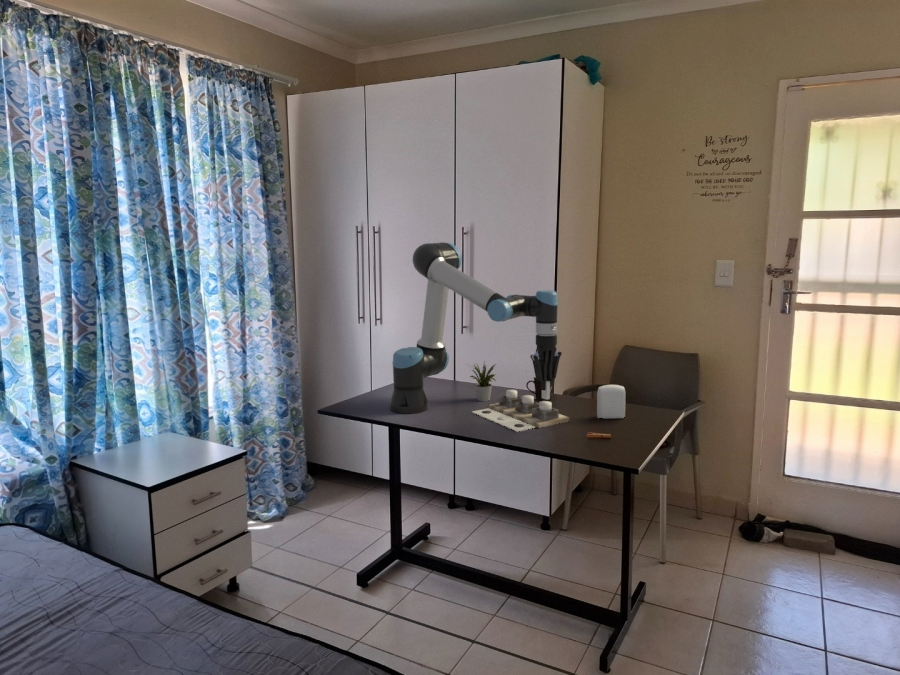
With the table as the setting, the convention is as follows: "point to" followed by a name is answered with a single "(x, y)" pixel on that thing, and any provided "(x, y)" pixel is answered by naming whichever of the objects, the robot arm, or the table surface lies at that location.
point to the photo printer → (611, 401)
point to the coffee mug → (538, 389)
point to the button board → (528, 412)
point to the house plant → (483, 383)
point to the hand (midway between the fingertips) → (545, 398)
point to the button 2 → (545, 406)
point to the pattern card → (503, 419)
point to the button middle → (527, 400)
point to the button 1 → (511, 394)
